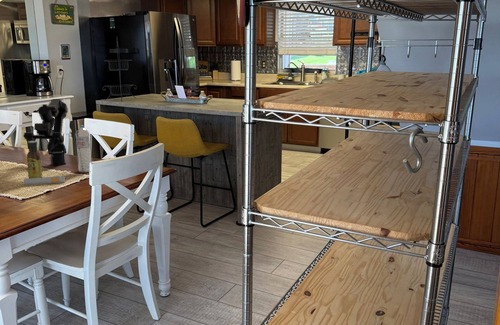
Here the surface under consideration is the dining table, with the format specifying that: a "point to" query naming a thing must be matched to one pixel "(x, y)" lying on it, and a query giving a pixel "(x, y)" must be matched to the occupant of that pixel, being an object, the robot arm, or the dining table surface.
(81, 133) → the water bottle
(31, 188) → the dining table surface
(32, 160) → the sauce bottle
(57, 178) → the rail
